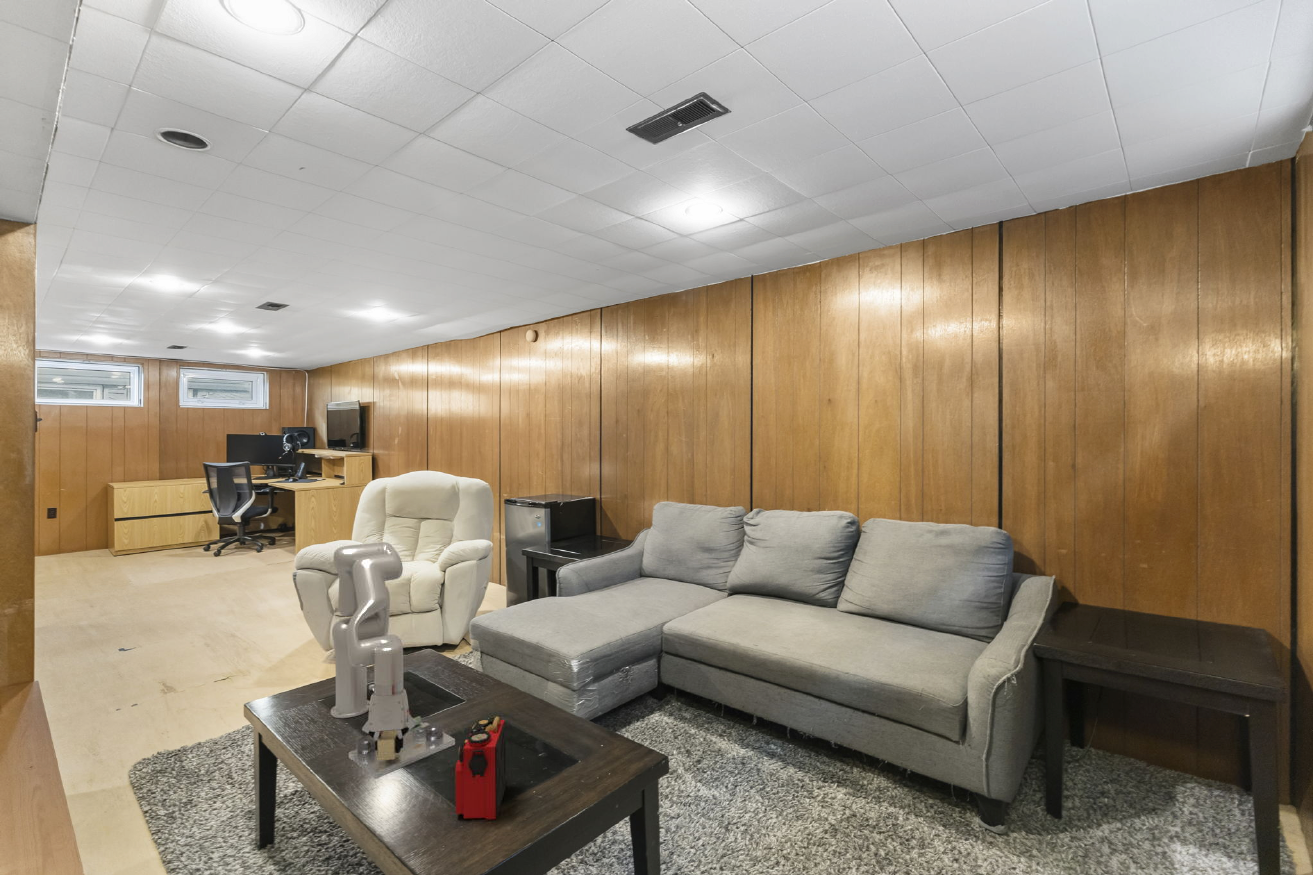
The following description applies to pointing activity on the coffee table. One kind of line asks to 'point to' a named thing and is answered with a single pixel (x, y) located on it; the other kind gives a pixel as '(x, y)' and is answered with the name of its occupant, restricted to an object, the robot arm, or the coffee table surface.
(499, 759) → the radio
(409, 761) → the levelling base
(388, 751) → the wooden rectangular block
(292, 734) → the coffee table surface
